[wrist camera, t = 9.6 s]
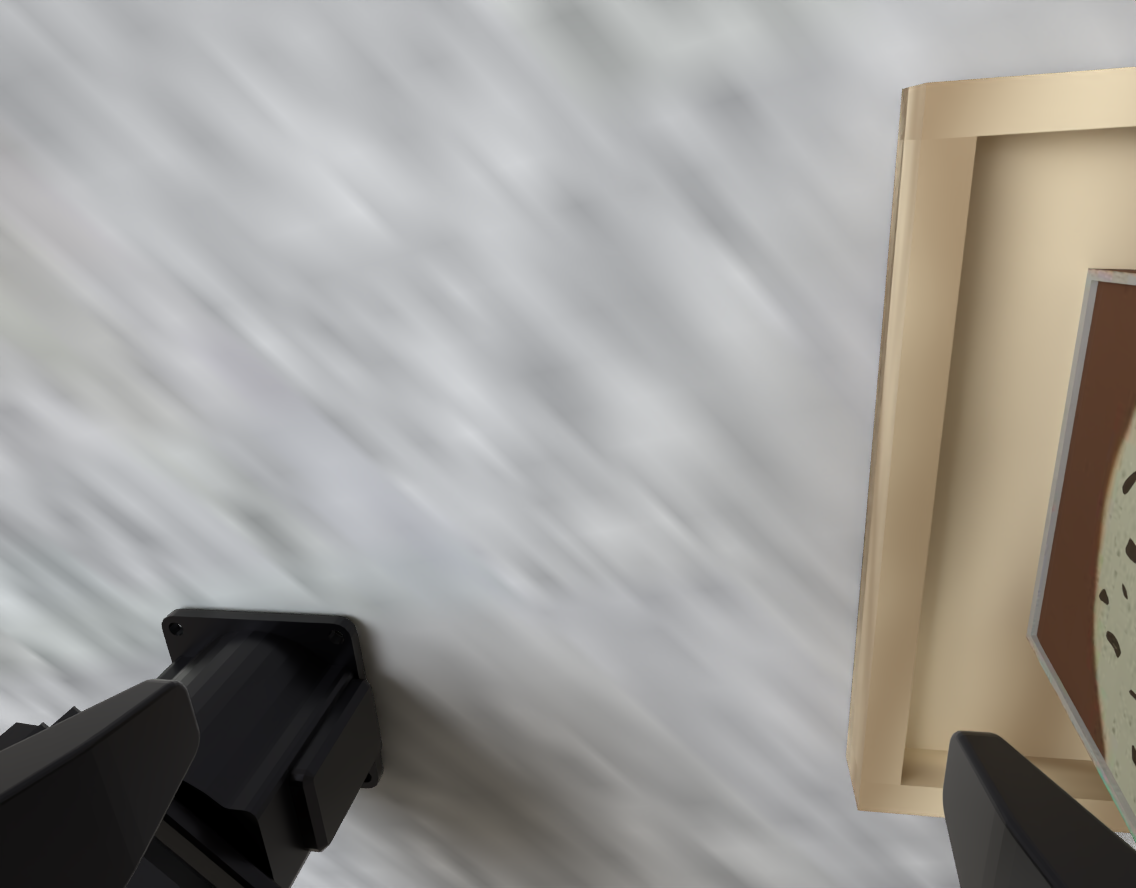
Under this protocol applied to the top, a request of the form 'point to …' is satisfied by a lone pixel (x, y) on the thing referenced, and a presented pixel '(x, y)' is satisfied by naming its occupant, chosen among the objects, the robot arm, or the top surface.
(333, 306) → the top surface
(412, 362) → the top surface
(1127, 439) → the food container
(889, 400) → the wooden tray
